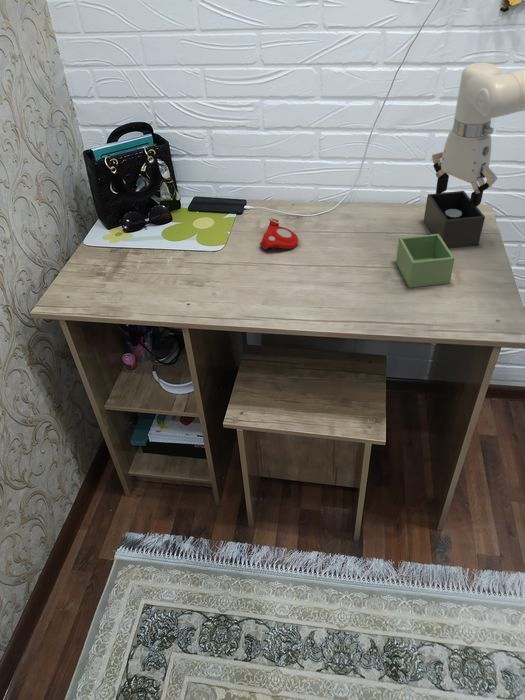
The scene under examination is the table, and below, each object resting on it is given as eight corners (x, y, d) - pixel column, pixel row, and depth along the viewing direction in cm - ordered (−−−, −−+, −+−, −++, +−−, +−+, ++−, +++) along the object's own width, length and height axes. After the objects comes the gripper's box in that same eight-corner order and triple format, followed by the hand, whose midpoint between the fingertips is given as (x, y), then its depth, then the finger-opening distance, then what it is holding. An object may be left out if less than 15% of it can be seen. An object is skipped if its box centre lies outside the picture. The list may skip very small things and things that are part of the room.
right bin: (478, 245, 137) (485, 216, 132) (441, 249, 136) (446, 221, 131) (458, 217, 146) (463, 190, 141) (423, 221, 146) (427, 194, 141)
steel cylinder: (460, 234, 140) (464, 216, 136) (445, 236, 139) (448, 217, 136) (454, 226, 142) (458, 208, 139) (439, 227, 142) (442, 209, 139)
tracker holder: (307, 238, 141) (278, 246, 134) (301, 253, 144) (273, 261, 137) (276, 211, 146) (247, 217, 140) (271, 225, 149) (242, 232, 142)
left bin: (449, 283, 126) (454, 258, 122) (408, 287, 126) (412, 262, 121) (434, 258, 134) (438, 233, 129) (395, 262, 133) (398, 237, 129)
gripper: (516, 133, 120) (498, 207, 131) (450, 112, 130) (439, 182, 142) (493, 143, 117) (477, 218, 128) (428, 120, 127) (418, 191, 139)
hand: (457, 199), depth 135 cm, fingers open, 9 cm apart
